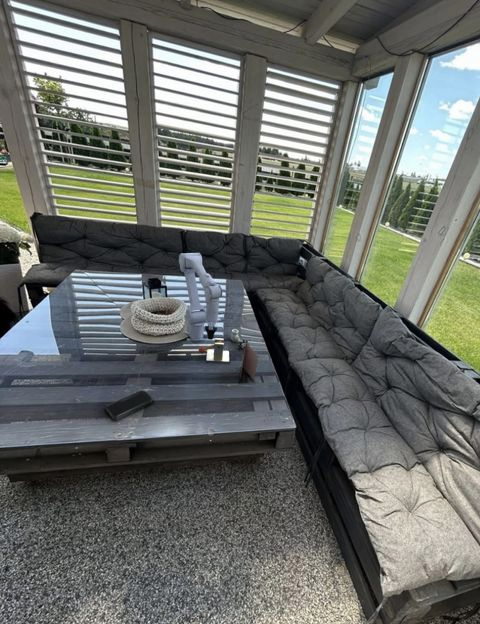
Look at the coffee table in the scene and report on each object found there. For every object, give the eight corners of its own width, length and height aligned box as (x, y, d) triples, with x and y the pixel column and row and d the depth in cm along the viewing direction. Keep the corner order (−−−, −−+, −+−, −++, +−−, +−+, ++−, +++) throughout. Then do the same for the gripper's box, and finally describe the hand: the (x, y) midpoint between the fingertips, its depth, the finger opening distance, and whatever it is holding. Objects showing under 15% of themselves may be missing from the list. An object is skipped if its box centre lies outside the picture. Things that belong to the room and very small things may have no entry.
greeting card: (240, 367, 141) (244, 342, 133) (255, 369, 142) (259, 344, 133) (237, 382, 132) (241, 356, 123) (253, 384, 132) (258, 358, 124)
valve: (227, 340, 159) (237, 351, 152) (228, 329, 156) (238, 341, 148) (237, 338, 163) (248, 349, 155) (238, 328, 159) (249, 339, 151)
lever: (200, 355, 141) (197, 350, 139) (200, 351, 143) (197, 346, 141) (222, 347, 140) (220, 342, 138) (223, 344, 142) (220, 339, 141)
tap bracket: (206, 362, 140) (207, 345, 135) (207, 351, 147) (208, 335, 142) (228, 363, 142) (230, 347, 137) (228, 352, 149) (230, 337, 144)
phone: (153, 400, 113) (114, 418, 102) (153, 402, 113) (114, 421, 103) (142, 389, 116) (104, 406, 106) (143, 391, 117) (104, 408, 107)
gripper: (220, 318, 129) (218, 343, 136) (221, 304, 141) (219, 328, 148) (204, 317, 128) (203, 342, 135) (206, 302, 139) (205, 327, 147)
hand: (210, 335), depth 141 cm, fingers open, 7 cm apart
